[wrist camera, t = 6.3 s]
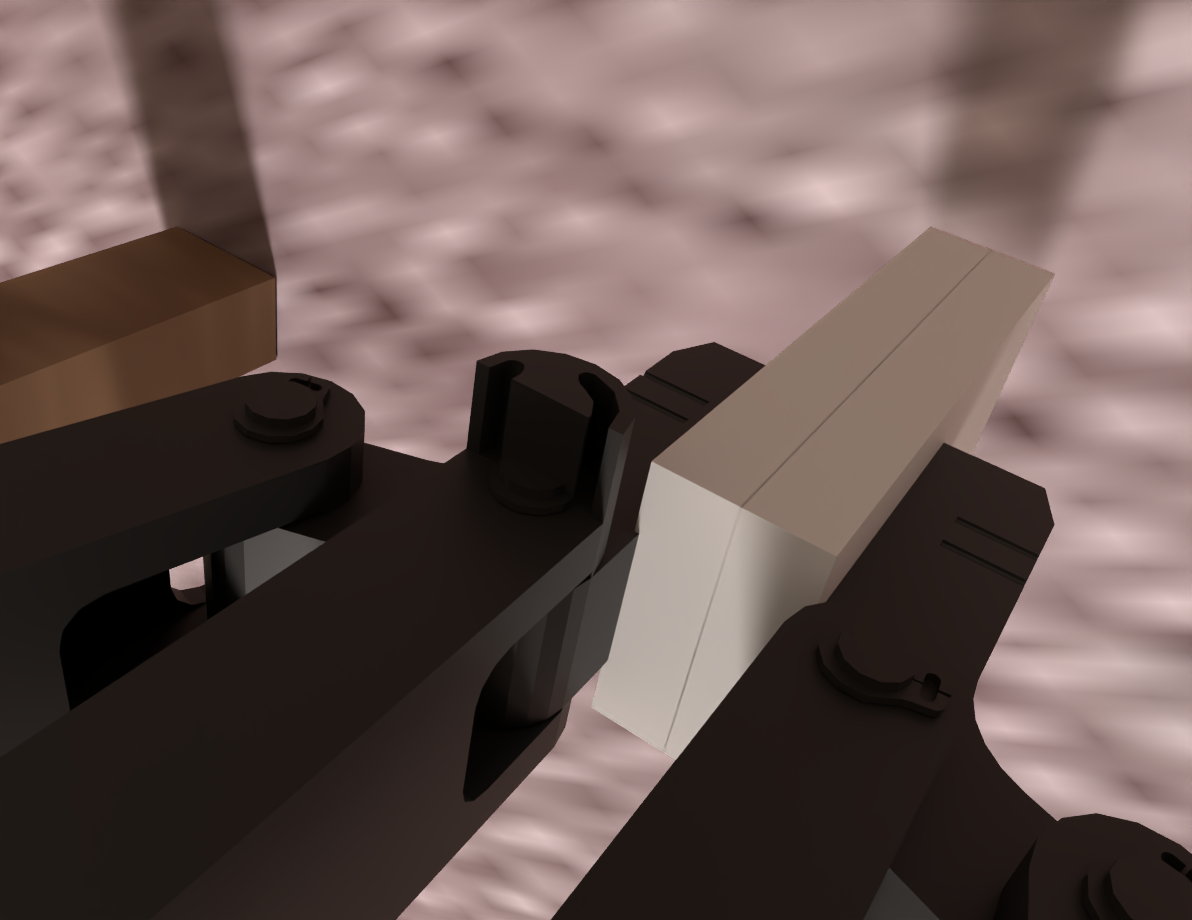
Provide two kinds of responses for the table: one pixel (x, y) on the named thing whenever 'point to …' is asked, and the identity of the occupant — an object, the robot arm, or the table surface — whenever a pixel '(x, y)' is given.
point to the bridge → (128, 330)
